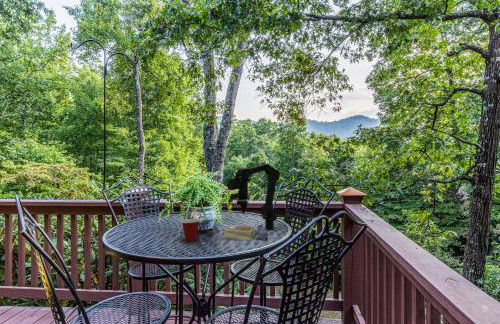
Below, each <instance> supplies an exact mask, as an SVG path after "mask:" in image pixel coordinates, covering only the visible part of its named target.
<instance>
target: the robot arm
mask: <svg viewBox="0 0 500 324" xmlns="http://www.w3.org/2000/svg"><path fill="white" fill-rule="evenodd" d="M261 172H264V173H265V174H266V179H267V182H268V183H267V190H266V196H265V203H264V205H261V207H260V215H261V218H262V219H263V220H264V221H265V222H264V223H265V224H264V228H267V229H273V228H274V227H275V226H274V225H275V221H277V219H278V216H277V215H276V214H275V208H274V206H273V204H274V198H275V197H274V196H275V191H276V185H277V183H278V181H279V179H280V176H281V172H280V171H279V169H276V168H275V167H273V166H271V165H270V164H269V163H262V164H259V165H256V166H252V167H241V168H238V169H237V172H236V173H235V175H234V177H233V178H229V179H228V181H227V184H226V187H227V189H228V190H229V191H234V190H235V191H236V190H238V191H237V192H236V193H234V192H232V193H231V194H230V195H229V196H228V197H229V199H230V201H231V202H232V201H234V200H236V199H237V200H236V205H237V206H240V210H241V213H242V215H245V213H246V211H247V207H248V205H249V203H250V202H249V201H250V195H249V182H251V181H252V180H251V178H250V177H252V175H254V174H257V173H261ZM274 229H275V228H274Z"/></svg>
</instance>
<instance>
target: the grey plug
mask: <svg viewBox="0 0 500 324" xmlns="http://www.w3.org/2000/svg"><path fill="white" fill-rule="evenodd" d="M229 226H230V227H229V230H236V226H235V225H233V226H232V225H229Z"/></svg>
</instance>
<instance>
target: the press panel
mask: <svg viewBox="0 0 500 324" xmlns="http://www.w3.org/2000/svg"><path fill="white" fill-rule="evenodd" d="M230 226H231V225H228V226H226V228H225V229H224V231H223V240H224V239H233V240H232V241H248V240H251V241H252V240H253V238H252V237H253V236H254V235H253V234H255V232H254V230H255V229H254V226H250V230H242V226H243V225H242V226H241V225H240V226H239V225H238V226H236V230H229V227H230Z"/></svg>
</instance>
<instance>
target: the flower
mask: <svg viewBox="0 0 500 324" xmlns="http://www.w3.org/2000/svg"><path fill="white" fill-rule="evenodd" d="M256 236H258V237H259V239H261V240H262V239H266V237H268V236H269V232H268V231H267V230H265V226H264V223H262V224H258V226H256V231H255V232H254V235H253V238H252V240H255V239H256ZM266 240H267V239H266Z"/></svg>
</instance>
